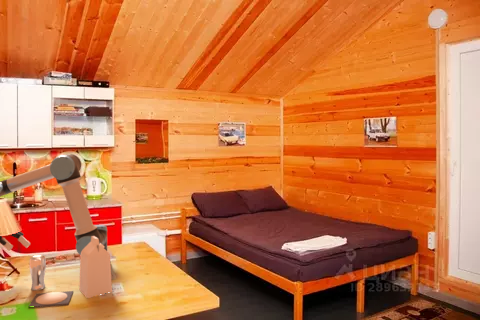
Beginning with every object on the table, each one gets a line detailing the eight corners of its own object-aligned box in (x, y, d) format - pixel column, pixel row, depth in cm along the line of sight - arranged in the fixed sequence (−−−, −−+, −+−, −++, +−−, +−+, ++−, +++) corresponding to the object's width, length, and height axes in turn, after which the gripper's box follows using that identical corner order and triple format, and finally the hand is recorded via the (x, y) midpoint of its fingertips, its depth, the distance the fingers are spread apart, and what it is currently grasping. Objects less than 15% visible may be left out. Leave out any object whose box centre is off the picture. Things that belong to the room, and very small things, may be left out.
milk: (79, 289, 201) (78, 236, 199) (103, 284, 208) (102, 233, 206) (87, 298, 192) (86, 242, 189) (112, 292, 199) (111, 238, 196)
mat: (73, 292, 197) (73, 290, 197) (68, 305, 184) (68, 302, 184) (36, 295, 194) (36, 292, 194) (28, 308, 180) (28, 305, 180)
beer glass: (33, 285, 205) (33, 255, 204) (48, 285, 206) (47, 255, 205) (27, 291, 198) (27, 260, 197) (43, 290, 199) (42, 259, 198)
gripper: (2, 224, 223) (30, 250, 220) (-33, 227, 199) (-3, 256, 195) (11, 213, 223) (39, 238, 220) (-24, 214, 199) (7, 243, 195)
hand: (20, 247), depth 208 cm, fingers open, 13 cm apart
